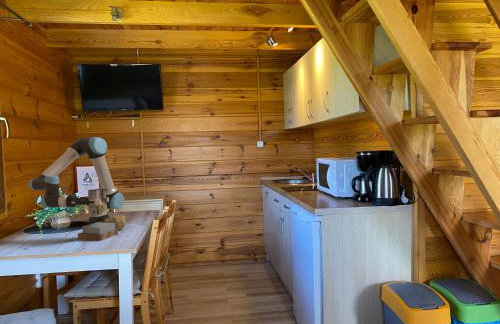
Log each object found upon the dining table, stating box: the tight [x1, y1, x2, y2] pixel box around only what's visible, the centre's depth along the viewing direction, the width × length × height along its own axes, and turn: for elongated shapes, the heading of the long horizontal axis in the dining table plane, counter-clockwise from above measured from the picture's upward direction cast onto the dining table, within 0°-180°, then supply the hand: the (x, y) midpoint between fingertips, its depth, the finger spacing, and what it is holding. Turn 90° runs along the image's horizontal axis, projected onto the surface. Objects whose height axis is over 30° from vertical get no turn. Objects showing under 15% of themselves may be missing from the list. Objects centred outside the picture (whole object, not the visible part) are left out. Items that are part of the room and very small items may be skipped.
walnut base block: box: [77, 229, 119, 242], centre depth 215 cm, size 16×16×4 cm
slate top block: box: [81, 222, 115, 234], centre depth 216 cm, size 13×13×4 cm
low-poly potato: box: [104, 215, 126, 232], centre depth 233 cm, size 15×11×12 cm
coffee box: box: [87, 188, 107, 218], centre depth 215 cm, size 9×6×16 cm
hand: (104, 200), depth 215 cm, fingers closed on coffee box, 10 cm apart
